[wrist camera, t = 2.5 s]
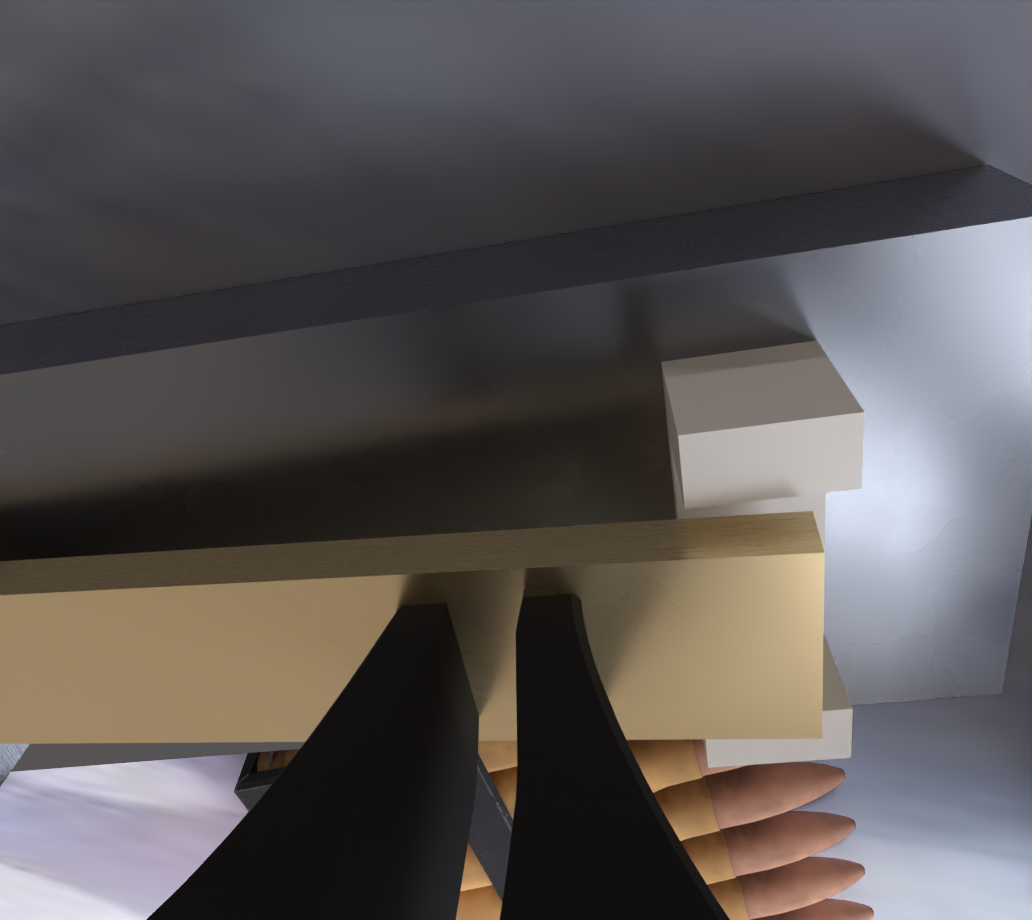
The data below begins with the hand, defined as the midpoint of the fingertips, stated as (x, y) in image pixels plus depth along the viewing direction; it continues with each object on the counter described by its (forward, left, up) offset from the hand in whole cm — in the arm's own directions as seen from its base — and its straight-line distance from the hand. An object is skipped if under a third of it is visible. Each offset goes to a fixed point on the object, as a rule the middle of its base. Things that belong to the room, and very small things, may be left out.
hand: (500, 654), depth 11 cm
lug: (-4, 0, -2) cm, 4 cm away
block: (+2, 0, -5) cm, 5 cm away
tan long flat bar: (+3, 0, -1) cm, 3 cm away
